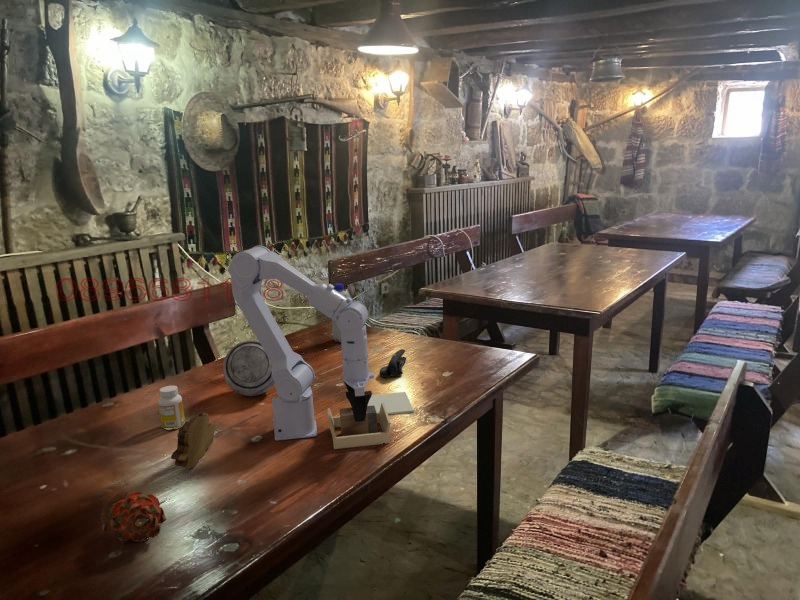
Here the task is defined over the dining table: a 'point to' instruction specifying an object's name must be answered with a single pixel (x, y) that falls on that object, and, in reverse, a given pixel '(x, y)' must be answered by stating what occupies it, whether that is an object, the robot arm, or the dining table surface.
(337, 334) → the bottle
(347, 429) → the block
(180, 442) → the wooden carving
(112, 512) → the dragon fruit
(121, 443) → the dining table surface
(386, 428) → the wooden box
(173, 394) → the supplement bottle
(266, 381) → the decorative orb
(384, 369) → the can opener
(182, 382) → the dining table surface
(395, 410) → the mat
